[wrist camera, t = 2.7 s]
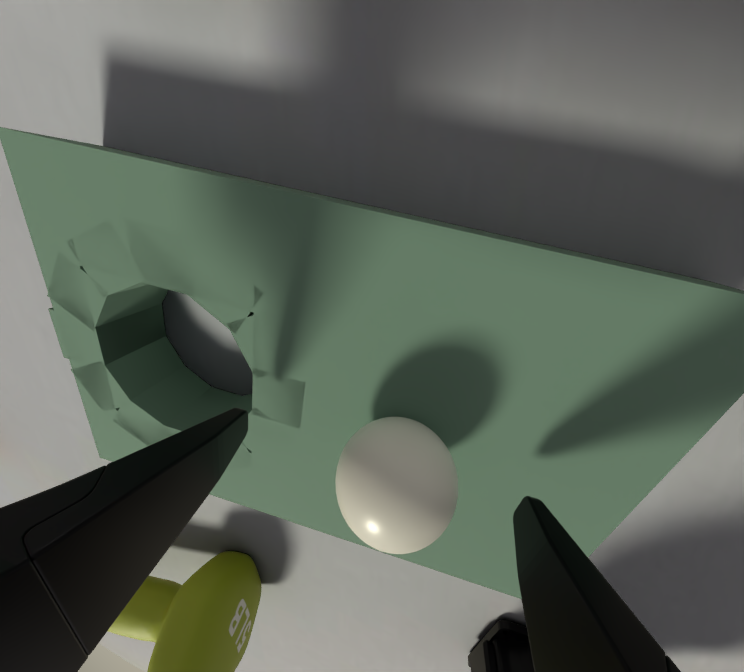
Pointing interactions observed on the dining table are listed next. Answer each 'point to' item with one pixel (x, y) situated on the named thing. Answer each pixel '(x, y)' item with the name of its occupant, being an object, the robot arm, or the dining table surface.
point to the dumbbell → (196, 616)
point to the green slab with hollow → (376, 344)
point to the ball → (396, 485)
